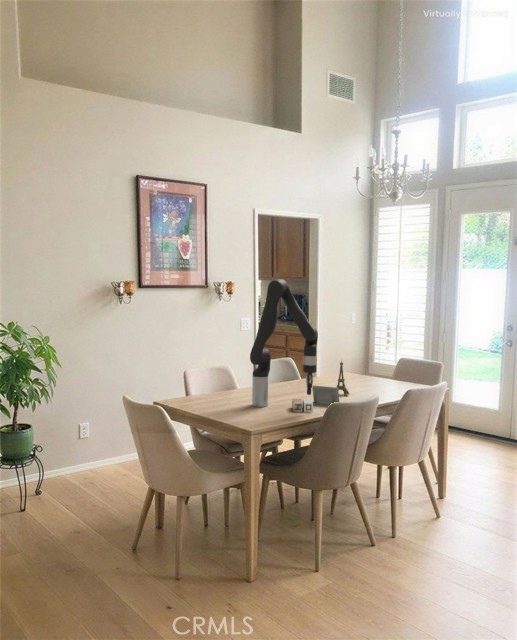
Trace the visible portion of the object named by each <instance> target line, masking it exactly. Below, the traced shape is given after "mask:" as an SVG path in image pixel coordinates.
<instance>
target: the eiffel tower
mask: <svg viewBox="0 0 517 640" xmlns="http://www.w3.org/2000/svg"><path fill="white" fill-rule="evenodd" d="M339 365H340V367H339V373H338V375H339V376H338V379H337V385H336V388H338V391H339V390H340V391H343V397H346V398H347V397H349V395H351V394H350V392H349V390H348V389H347V387H346V384H345V377H344V369H343V367H344V366H343V365H344V362H343V360H342V359H341V362H339ZM340 384H341V385H340Z"/></svg>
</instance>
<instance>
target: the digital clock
mask: <svg viewBox="0 0 517 640" xmlns="http://www.w3.org/2000/svg"><path fill="white" fill-rule="evenodd" d="M311 390H312V397H313V403H316V405H320V404H321V406H322V405H323V406H330V404H331V403H334V402H339V403H340V393H339V390H338V388H337V387H333V386H325V385H312V388H311Z"/></svg>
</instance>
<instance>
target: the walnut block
mask: <svg viewBox="0 0 517 640" xmlns="http://www.w3.org/2000/svg"><path fill="white" fill-rule="evenodd" d="M291 402H292V403H291V404H292V405H291V408H292V412H303V399H301V398H292V401H291Z"/></svg>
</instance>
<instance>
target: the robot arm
mask: <svg viewBox="0 0 517 640" xmlns="http://www.w3.org/2000/svg"><path fill="white" fill-rule="evenodd" d="M266 290H267V291H266V298H265V301H264V302H265V303H264V306H263V310H262V313H261V318H260V320H259V326H258V329H257V333H256V336H255V340H254V342H253V346H252V347H251V350H250V354H249V361H250V363H251V364H252V365H254V366H257V367H256V368H255V369H254V370H253V371H252V391H251V392H252V394H251V397H252V399H251V405H252V406H253V407H256V408H257V407H258V408H265V407H268V406H269V373H270V370H271V359H272V358H271V352H270V350H269V349H268V348H266V347H265V345H266V343H267V342H268V341H269V339H270V338H271V336H272V335H273V334H274V332H275V331H276V327H277V323H278V318H279V317H278V315H279V314H278V305H279V302H280V298H281V299H282V300H283V302H284V303H285V305H286V308H287V310H288V313H289V316H290V317H291V320H293V322H294V324H295V325H296V327H298V330H299V332H300V333H301V335H302V337H303V339H305V342H304V343H305V344H304V346H303V358H302V359H303V360H302V372H303V373H306V375H305V383H306V395H307V396H311V395H312V387H313V384H314V383H313V381H314V375H313V374H315V373H317V371H318V370H317V368H318V367H317V365H318V364H317V361H318V359H317V354H318V353H317V345H318V340H319V339H318V338H319V333H318V332H319V331H318V330H317V329H316V327H314V326H313V327H312V325H311V323H310V321H309V319H308V317H307V315H306V314H305V312H304V311H303V310H302V309H301V307H300V306H299V304H298V302H297V300H296V299H295V296H294V295H293V293H292V292H291V289H290V286H289V285H288V283H287V281H286V280H284V278H283V279H282V278H276V279H274V280H271V281H270V282H269V284H268V286H267V289H266Z"/></svg>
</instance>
